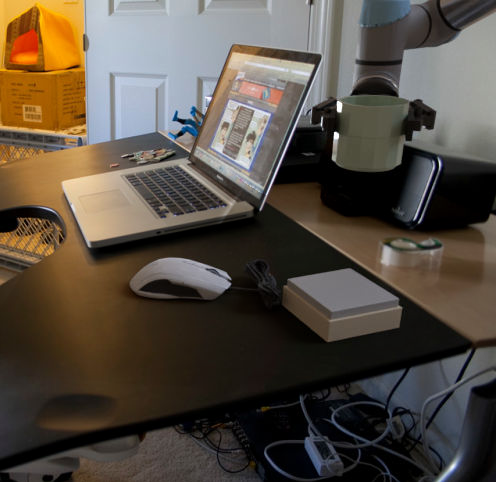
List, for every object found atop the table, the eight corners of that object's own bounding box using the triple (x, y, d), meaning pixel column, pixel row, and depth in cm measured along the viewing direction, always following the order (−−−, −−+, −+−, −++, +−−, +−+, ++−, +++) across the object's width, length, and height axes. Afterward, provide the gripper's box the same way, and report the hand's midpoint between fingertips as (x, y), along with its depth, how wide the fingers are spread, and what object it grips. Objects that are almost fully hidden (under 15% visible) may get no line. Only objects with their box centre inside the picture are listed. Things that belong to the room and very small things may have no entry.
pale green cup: (399, 158, 92) (408, 95, 89) (400, 175, 85) (410, 107, 81) (334, 154, 96) (340, 94, 92) (329, 170, 88) (335, 105, 85)
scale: (347, 292, 77) (350, 266, 76) (399, 327, 69) (403, 299, 68) (281, 304, 75) (283, 278, 74) (327, 342, 67) (330, 313, 66)
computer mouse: (133, 272, 85) (133, 244, 84) (273, 277, 82) (276, 248, 80) (124, 307, 76) (123, 277, 74) (281, 314, 73) (284, 283, 71)
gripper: (445, 125, 100) (457, 162, 81) (301, 120, 109) (282, 152, 90) (453, 77, 98) (468, 103, 79) (305, 75, 106) (286, 98, 87)
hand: (369, 129), depth 84 cm, fingers closed on pale green cup, 9 cm apart
